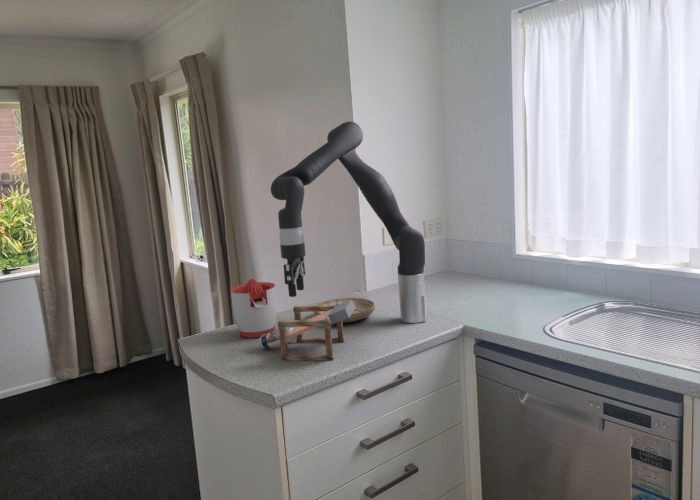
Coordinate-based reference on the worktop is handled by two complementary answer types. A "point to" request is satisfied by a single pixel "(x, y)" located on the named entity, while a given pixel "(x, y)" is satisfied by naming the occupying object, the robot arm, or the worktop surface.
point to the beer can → (274, 339)
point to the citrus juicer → (254, 308)
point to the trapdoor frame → (310, 323)
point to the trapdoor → (334, 315)
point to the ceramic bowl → (361, 310)
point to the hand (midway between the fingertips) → (296, 293)
